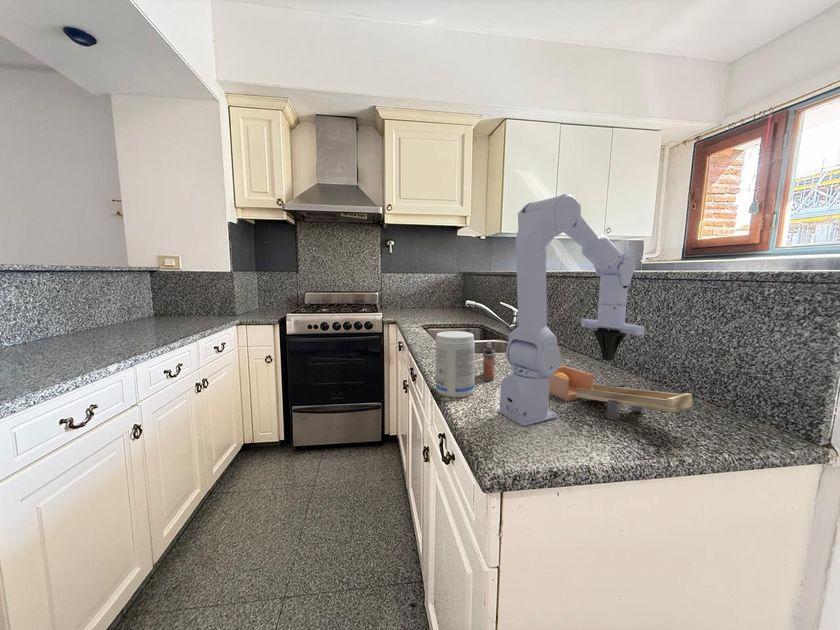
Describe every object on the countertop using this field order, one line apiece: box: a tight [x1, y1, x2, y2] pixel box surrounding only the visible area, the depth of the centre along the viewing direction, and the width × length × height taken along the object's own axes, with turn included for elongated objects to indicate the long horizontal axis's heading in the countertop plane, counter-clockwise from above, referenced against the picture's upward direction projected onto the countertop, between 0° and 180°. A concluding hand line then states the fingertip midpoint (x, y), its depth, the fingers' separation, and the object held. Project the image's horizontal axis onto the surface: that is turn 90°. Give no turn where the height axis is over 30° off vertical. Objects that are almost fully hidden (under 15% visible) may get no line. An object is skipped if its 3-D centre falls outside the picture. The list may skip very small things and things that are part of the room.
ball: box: [554, 373, 569, 379], centre depth 82 cm, size 4×4×4 cm
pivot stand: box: [606, 400, 646, 422], centre depth 67 cm, size 10×2×4 cm, turn 116°
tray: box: [549, 365, 595, 402], centre depth 80 cm, size 9×9×5 cm
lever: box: [575, 382, 694, 413], centre depth 68 cm, size 13×20×2 cm, turn 26°
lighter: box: [482, 341, 496, 382], centre depth 92 cm, size 8×3×10 cm, turn 168°
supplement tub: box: [435, 330, 476, 399], centre depth 80 cm, size 10×10×15 cm
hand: (607, 359), depth 78 cm, fingers closed
